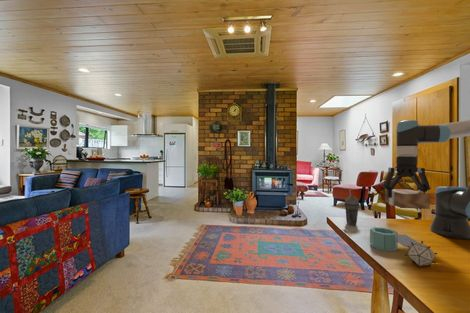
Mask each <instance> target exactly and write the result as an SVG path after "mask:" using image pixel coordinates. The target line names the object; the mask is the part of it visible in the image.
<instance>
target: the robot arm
mask: <svg viewBox="0 0 470 313" xmlns="http://www.w3.org/2000/svg"><path fill="white" fill-rule="evenodd" d="M463 137H470V119H466V120H461V121H454V122H453V121H452V122H447V123H441V124H431V125H430V124H429V125H424V124H423V125H422V124H421V125H420V124H419V121H418V120H416V119H414V120H413V119H410V120H402V121H401V120H400V121H398V122H397V124H396V151H395V152H396V153H395V154H396V157H395V158H396V159H395V160H396V161H395V163H396V167H390V166H389V167H388V173H387V175H386V177H385V180H384V182H383V185H382V189H384V190H385V189H387V197H389V203H388V204H389V206H395V205H394V191H393V189H395V187H397V185H398V184H399V182H400V181H401V179H403V178H410V179H412V181H413V183H414V184H415V186H416V187H417V188H418V190H417V191H418V192H422V193H427V192H428V191H431V189H432V188H431V186H430V183H429V181H428V178H427V174H426V169H425V167H417V165H418V157H417V156H418V151H419V150H418V149H419V148H418V145H419V144H428V143H429V144H430V143H431V144H432V143H437V144H440V143H446V142H448V141H449V140H450V139H458V138H463ZM395 172H396V174H395ZM416 172H417V173H418V175H417V174H416ZM394 176H395V177H394ZM393 177H394V178H393ZM434 195H435V201H434V202H435V206H434V207H435V210H434V211H435V212H434V217H433V220H432V222H431V224H430V226H429V229H430V232H432V233H434V234H436V235H439V236H442V237H446V238H452V239H459V240H470V223H469V219H470V184H469V185H468V187H466V186H437V187H436V189H435V193H434Z"/></svg>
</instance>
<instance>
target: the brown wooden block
mask: <svg viewBox="0 0 470 313" xmlns="http://www.w3.org/2000/svg"><path fill="white" fill-rule="evenodd" d="M393 191H394V206H395V207H397V208H400V209H413V210H414V209H417V210H418V209H419V210H420V209H421V210H422V209H423V210H430V208H431V194H429V193H427V192H425V193H422V192H418V191H419V190H415V189H414V190H413V189H408V188H407V189H404V188H403V189H401V188H400V189H399V188H394V189H393ZM384 202H385V203H388V204H389V197H387V189H384Z"/></svg>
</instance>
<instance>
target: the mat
mask: <svg viewBox="0 0 470 313" xmlns="http://www.w3.org/2000/svg"><path fill="white" fill-rule="evenodd" d="M411 242H413V244H416V243H420V242H419V241H418V240H416V239H414V238H412V237H410V236H409V235H407V234H400V233H398V244H400V245H401V246H403V247H407V246H409V247H410V246H411V245H412V244H411ZM407 248H408V247H407Z"/></svg>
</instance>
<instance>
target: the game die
mask: <svg viewBox="0 0 470 313" xmlns="http://www.w3.org/2000/svg"><path fill="white" fill-rule="evenodd" d="M411 244H412V245H411V246H410V247H409V246H407V248H408V251H407V253H406V254H404V256H406V257H407V256H408V257H409V258H410V260H411V262H412V263H415V264H416V265H418V267H417V268H418V269H420V268H421V267H422V266H423V267H424V266H428V267H432V265H431V264H436V261H434V260H435V255H438V252H434V251H433V250H432V249H431V246H429V245H428V246H427V245H426V244H425V243H424V241H423V240H421V241H420V242H419V243H416V244H413V242H411Z"/></svg>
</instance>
